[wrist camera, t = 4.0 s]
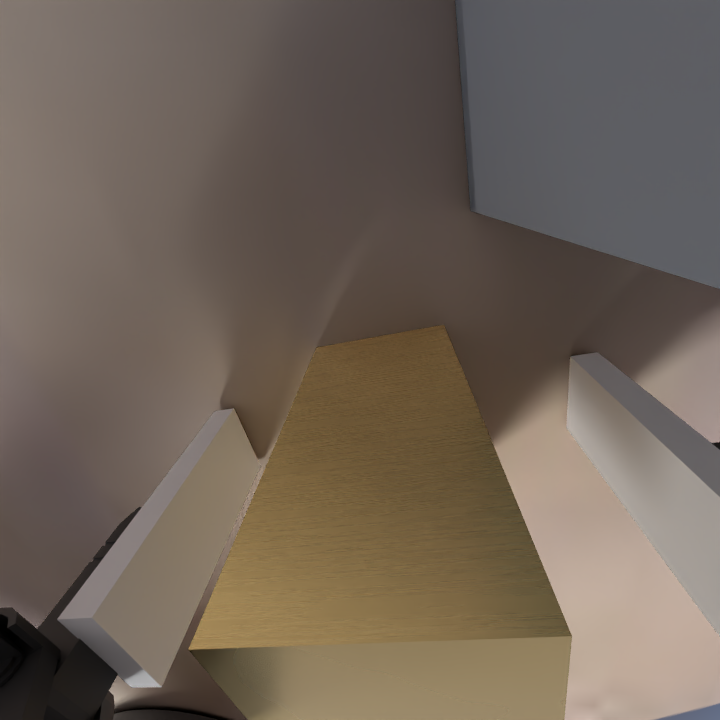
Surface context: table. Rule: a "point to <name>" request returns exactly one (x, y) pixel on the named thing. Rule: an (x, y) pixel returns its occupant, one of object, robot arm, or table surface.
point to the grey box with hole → (598, 124)
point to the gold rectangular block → (385, 557)
